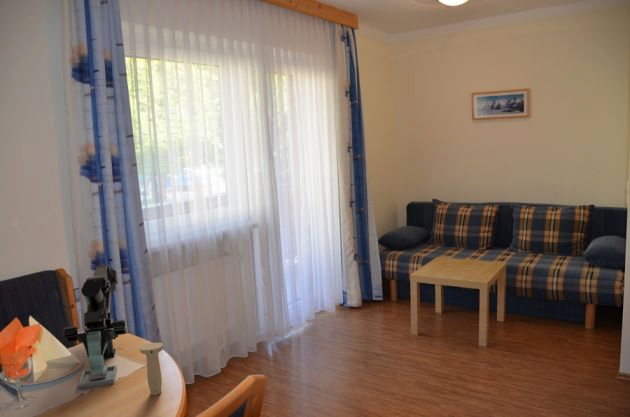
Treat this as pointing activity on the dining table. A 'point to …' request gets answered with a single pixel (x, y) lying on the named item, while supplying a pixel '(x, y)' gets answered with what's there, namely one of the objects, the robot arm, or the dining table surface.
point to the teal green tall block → (95, 355)
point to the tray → (97, 382)
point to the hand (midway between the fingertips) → (95, 355)
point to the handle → (153, 366)
